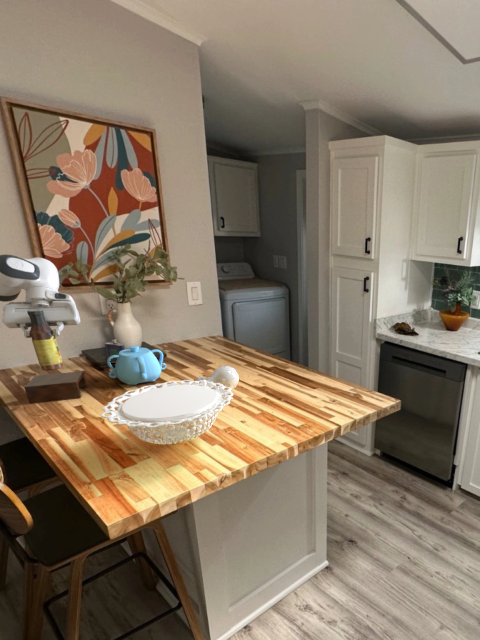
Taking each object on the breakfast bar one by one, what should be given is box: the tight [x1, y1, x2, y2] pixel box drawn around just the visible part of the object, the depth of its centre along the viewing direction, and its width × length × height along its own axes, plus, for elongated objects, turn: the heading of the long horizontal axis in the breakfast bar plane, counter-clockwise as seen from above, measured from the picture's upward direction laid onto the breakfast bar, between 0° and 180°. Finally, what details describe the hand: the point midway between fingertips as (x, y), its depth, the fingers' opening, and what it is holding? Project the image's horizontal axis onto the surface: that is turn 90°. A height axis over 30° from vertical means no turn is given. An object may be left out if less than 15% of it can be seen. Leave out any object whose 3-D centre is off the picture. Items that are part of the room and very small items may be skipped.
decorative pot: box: [106, 345, 167, 386], centre depth 156 cm, size 16×16×14 cm
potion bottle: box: [193, 365, 240, 391], centre depth 149 cm, size 9×10×15 cm
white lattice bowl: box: [100, 379, 235, 446], centre depth 113 cm, size 32×32×13 cm
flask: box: [104, 338, 126, 359], centre depth 173 cm, size 9×3×11 cm, turn 74°
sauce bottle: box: [27, 309, 64, 371], centre depth 136 cm, size 6×6×20 cm
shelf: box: [23, 370, 88, 405], centre depth 142 cm, size 14×12×6 cm
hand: (42, 336), depth 135 cm, fingers closed on sauce bottle, 6 cm apart
